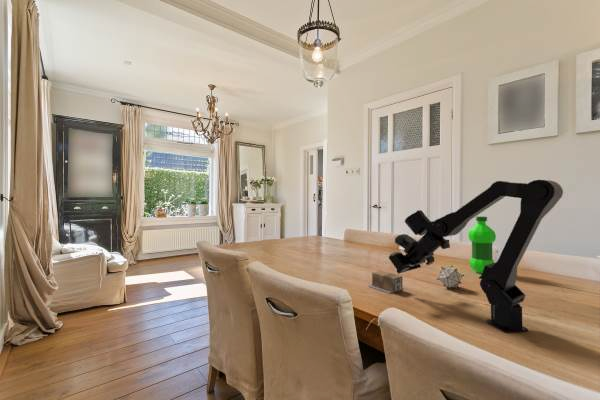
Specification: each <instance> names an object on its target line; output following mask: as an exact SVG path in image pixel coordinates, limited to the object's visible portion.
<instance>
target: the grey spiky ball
mask: <svg viewBox="0 0 600 400" xmlns="http://www.w3.org/2000/svg"><path fill="white" fill-rule="evenodd" d="M463 277H465V274H461V273H460V272H459V271H458V268H454V267H453V265H451V266H450V267H443V266H441V270H440V271H439V277H438V278H436V280H437V281H440V282H441V283H442V284H443V286H446V287H447V290H450V288H456V287H457V289H460V287H459V285H460V284H461V285H462V281H461V280H462V278H463Z"/></svg>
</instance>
